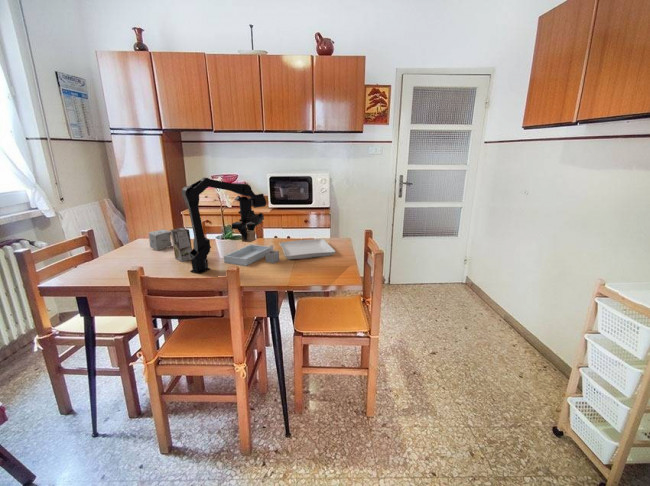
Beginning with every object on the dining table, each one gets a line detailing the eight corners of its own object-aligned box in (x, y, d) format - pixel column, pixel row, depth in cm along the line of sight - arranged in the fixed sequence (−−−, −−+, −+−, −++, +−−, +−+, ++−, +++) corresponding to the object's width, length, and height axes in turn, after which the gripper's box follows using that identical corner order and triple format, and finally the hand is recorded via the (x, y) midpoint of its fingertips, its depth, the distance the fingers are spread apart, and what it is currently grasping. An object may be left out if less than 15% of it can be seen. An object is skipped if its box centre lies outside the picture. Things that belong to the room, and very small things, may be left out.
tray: (246, 266, 147) (245, 259, 146) (224, 262, 153) (223, 256, 152) (271, 253, 166) (271, 246, 165) (251, 250, 172) (250, 244, 171)
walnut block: (242, 241, 153) (241, 232, 152) (247, 239, 158) (246, 229, 156) (250, 242, 152) (249, 232, 150) (255, 239, 156) (254, 230, 155)
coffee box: (194, 259, 159) (189, 229, 155) (181, 262, 155) (176, 232, 150) (186, 255, 165) (182, 227, 161) (174, 258, 161) (169, 229, 156)
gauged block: (274, 263, 150) (272, 247, 148) (265, 262, 152) (264, 246, 150) (279, 260, 155) (278, 244, 152) (271, 259, 157) (270, 243, 154)
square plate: (285, 263, 151) (285, 255, 150) (279, 247, 177) (278, 241, 176) (336, 257, 158) (336, 250, 157) (323, 243, 184) (322, 237, 182)
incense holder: (158, 250, 174) (155, 233, 172) (150, 249, 178) (146, 232, 175) (173, 246, 183) (170, 230, 180) (165, 244, 187) (162, 228, 184)
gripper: (248, 213, 139) (251, 245, 143) (269, 206, 156) (271, 235, 160) (229, 212, 143) (232, 243, 147) (251, 205, 160) (253, 234, 164)
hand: (248, 238), depth 155 cm, fingers closed on walnut block, 5 cm apart
